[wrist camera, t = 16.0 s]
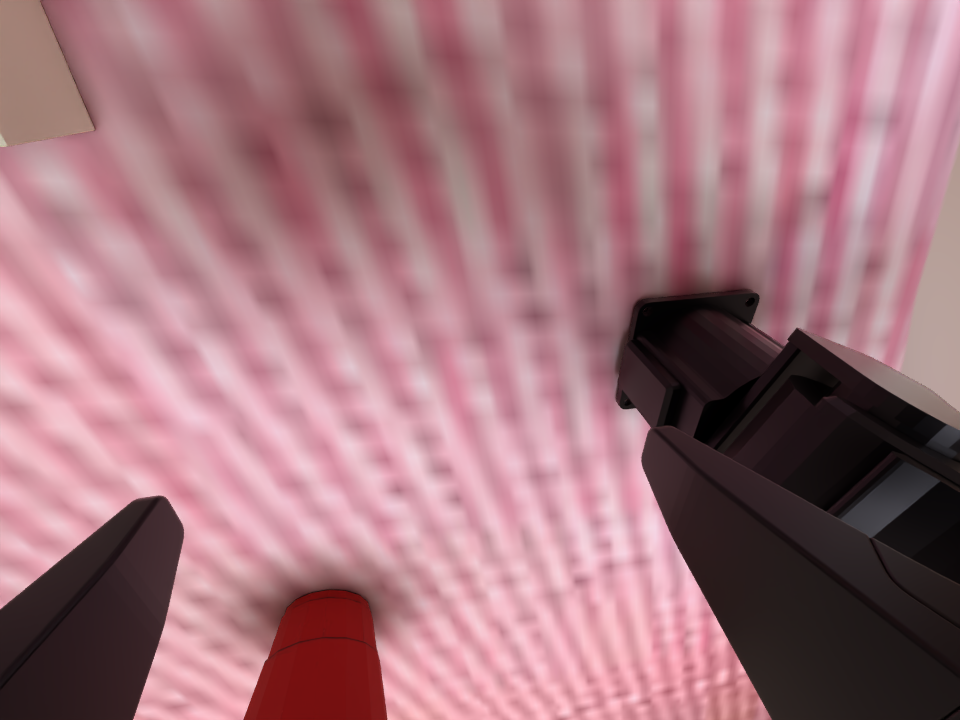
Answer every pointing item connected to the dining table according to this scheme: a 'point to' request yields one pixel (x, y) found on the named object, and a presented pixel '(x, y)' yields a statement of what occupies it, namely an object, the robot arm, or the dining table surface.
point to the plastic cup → (322, 663)
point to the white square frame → (35, 79)
